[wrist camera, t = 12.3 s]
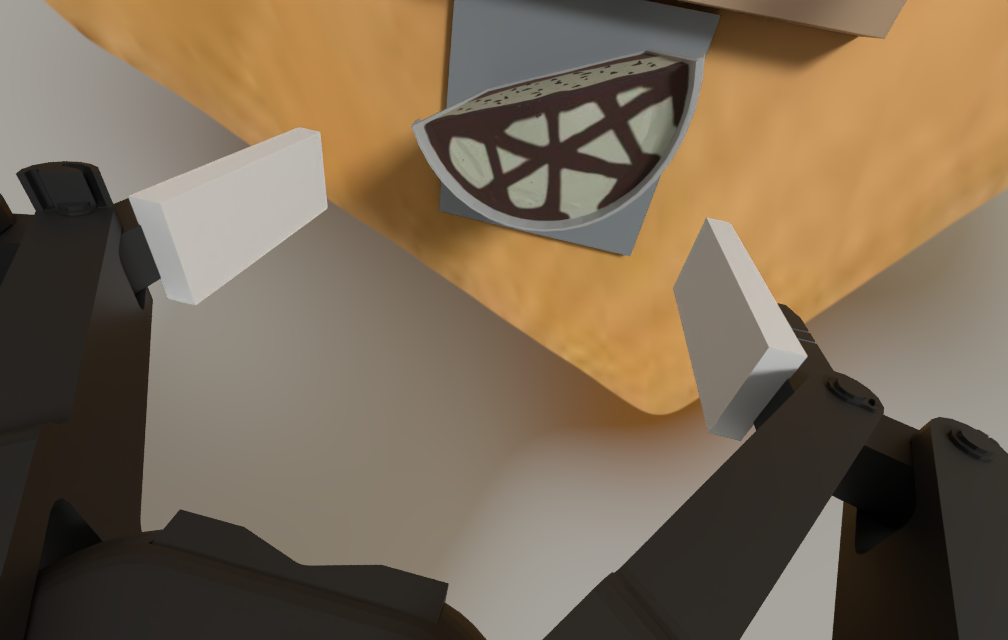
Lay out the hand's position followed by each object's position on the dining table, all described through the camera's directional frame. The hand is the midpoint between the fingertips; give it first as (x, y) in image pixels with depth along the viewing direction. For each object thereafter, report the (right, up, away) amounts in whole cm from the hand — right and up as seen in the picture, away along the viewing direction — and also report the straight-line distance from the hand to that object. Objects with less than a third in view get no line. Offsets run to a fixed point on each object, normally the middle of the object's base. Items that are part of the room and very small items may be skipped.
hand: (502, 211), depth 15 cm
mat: (+3, +8, +12) cm, 15 cm away
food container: (+4, +8, +12) cm, 15 cm away
